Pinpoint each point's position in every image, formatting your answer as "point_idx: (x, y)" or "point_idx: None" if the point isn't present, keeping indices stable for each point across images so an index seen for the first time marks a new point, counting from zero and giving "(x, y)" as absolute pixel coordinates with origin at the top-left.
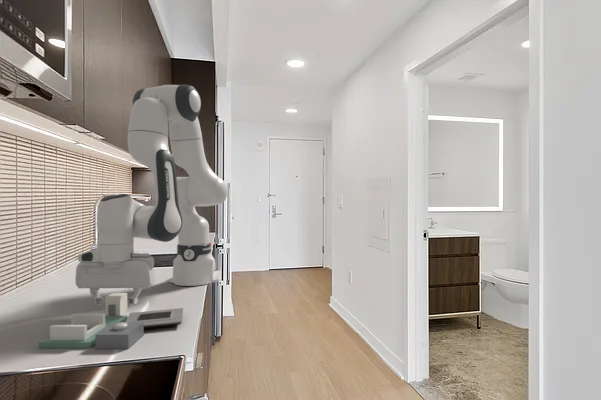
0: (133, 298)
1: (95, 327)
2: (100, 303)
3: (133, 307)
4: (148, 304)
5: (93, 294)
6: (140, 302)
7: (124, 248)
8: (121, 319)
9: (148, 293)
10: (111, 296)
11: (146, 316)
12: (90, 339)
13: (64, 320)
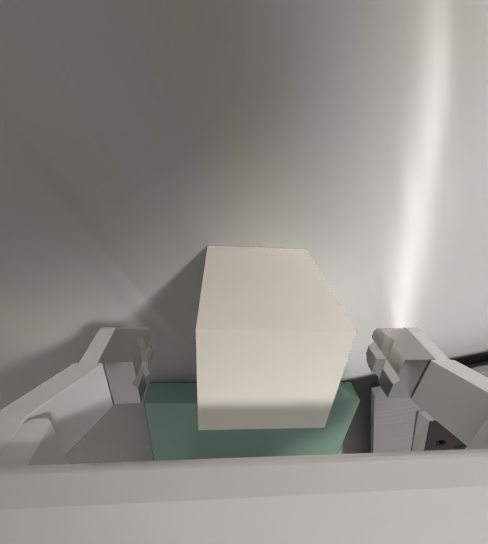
0: (419, 396)
1: None
2: (150, 357)
3: (329, 181)
4: (441, 101)
5: (69, 442)
6: (360, 9)
7: None
8: (344, 429)
9: None
10: (246, 418)
11: (457, 439)
12: None
13: (34, 376)
